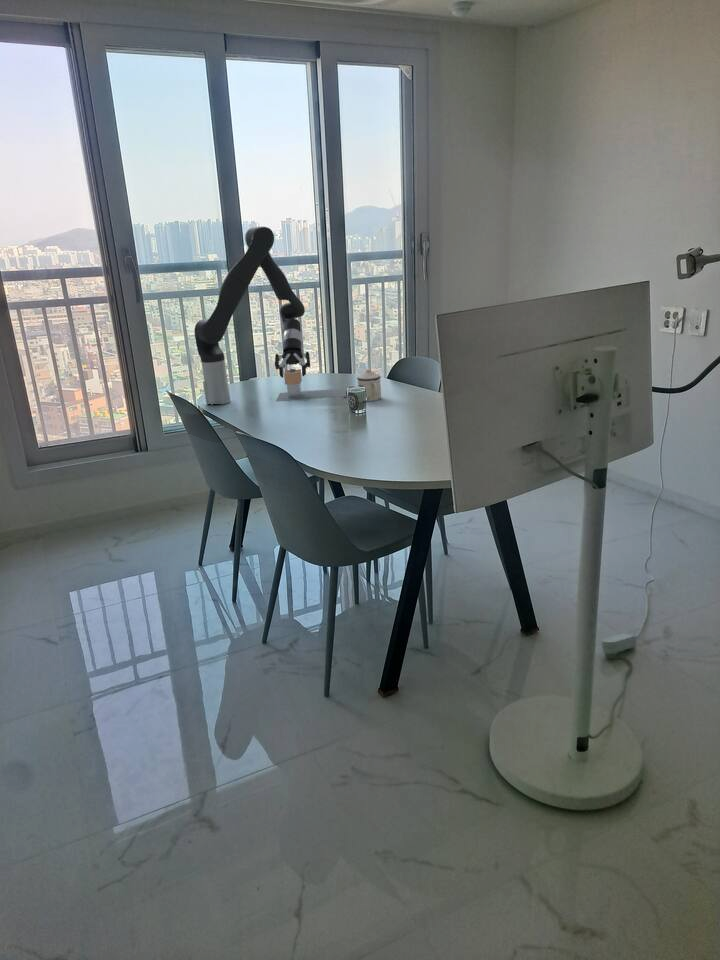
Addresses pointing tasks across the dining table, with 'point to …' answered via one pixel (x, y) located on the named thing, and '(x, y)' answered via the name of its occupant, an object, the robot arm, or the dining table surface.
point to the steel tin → (294, 390)
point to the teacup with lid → (370, 384)
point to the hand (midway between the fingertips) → (292, 376)
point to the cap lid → (292, 376)
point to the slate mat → (314, 394)
